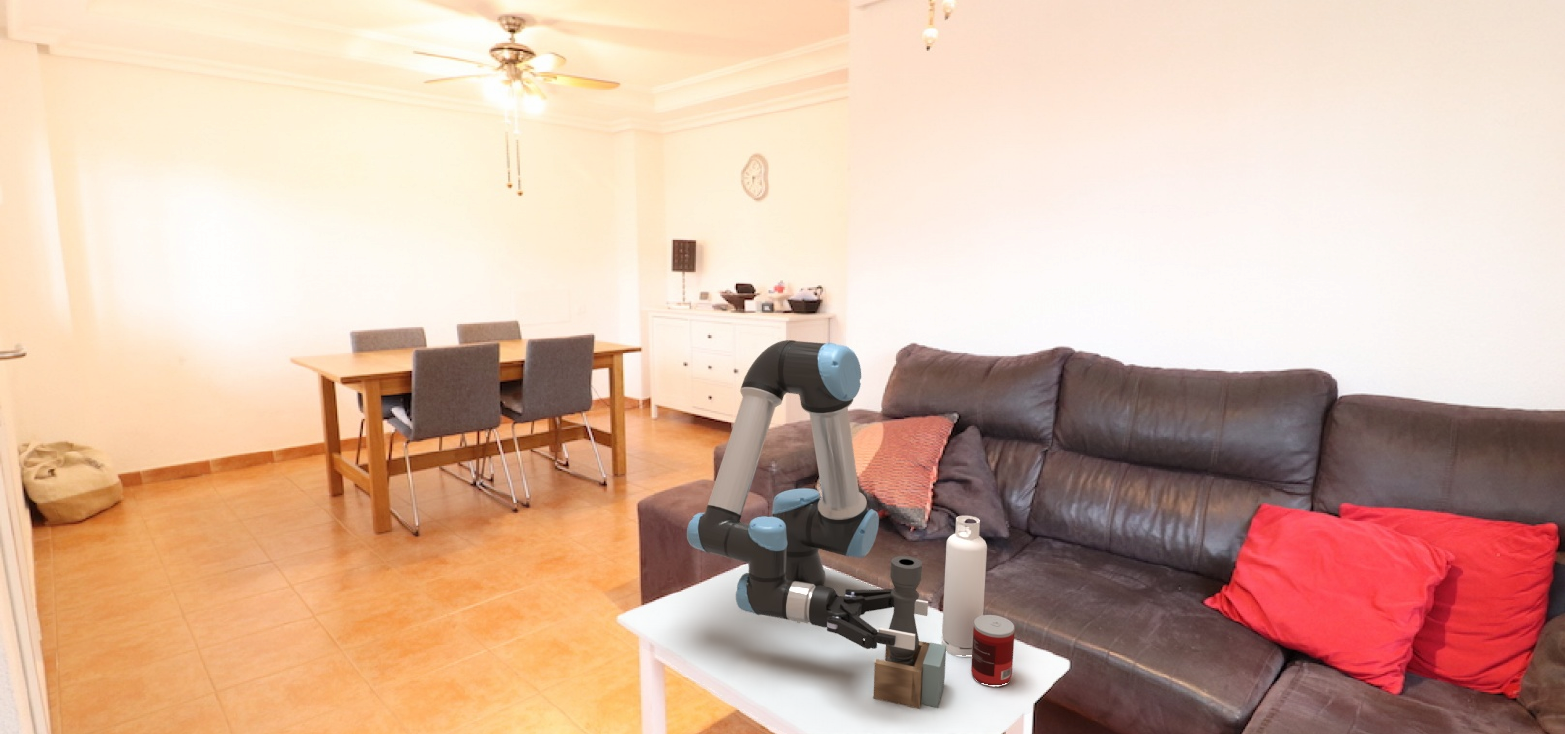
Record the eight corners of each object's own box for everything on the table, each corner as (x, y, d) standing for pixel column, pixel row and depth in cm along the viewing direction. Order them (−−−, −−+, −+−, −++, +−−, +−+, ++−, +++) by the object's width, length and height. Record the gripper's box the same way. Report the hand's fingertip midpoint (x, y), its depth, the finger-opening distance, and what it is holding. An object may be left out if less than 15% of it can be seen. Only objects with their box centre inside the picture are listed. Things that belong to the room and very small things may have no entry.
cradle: (873, 697, 136) (874, 662, 135) (886, 667, 147) (887, 634, 145) (919, 708, 133) (920, 672, 132) (929, 676, 144) (930, 643, 143)
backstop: (921, 704, 135) (923, 663, 134) (928, 680, 142) (930, 642, 141) (937, 707, 134) (939, 666, 132) (944, 684, 141) (946, 645, 140)
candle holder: (916, 698, 136) (923, 570, 133) (882, 693, 138) (888, 567, 134) (917, 679, 142) (923, 557, 139) (884, 675, 144) (890, 553, 140)
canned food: (1010, 668, 147) (1014, 617, 145) (1012, 691, 139) (1015, 637, 138) (971, 662, 149) (974, 611, 147) (970, 684, 141) (973, 631, 140)
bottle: (935, 648, 154) (941, 520, 150) (951, 633, 160) (957, 510, 156) (971, 661, 149) (979, 529, 145) (986, 645, 156) (994, 518, 151)
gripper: (831, 595, 156) (931, 613, 149) (791, 653, 133) (907, 678, 126) (832, 562, 155) (933, 578, 148) (791, 614, 132) (909, 637, 125)
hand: (921, 624), depth 137 cm, fingers open, 13 cm apart
